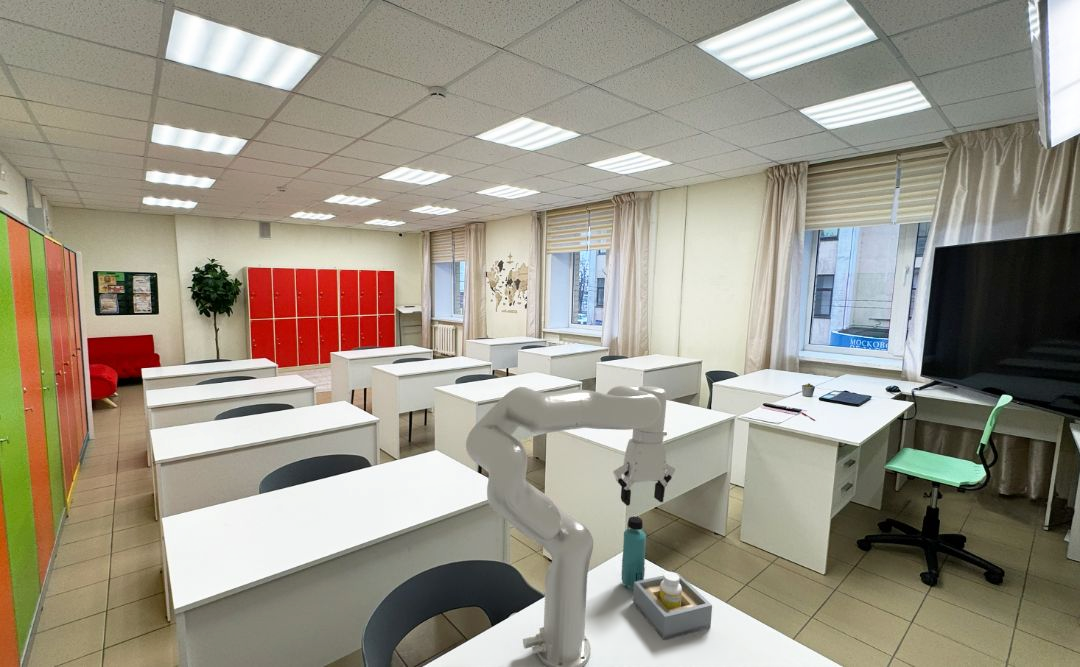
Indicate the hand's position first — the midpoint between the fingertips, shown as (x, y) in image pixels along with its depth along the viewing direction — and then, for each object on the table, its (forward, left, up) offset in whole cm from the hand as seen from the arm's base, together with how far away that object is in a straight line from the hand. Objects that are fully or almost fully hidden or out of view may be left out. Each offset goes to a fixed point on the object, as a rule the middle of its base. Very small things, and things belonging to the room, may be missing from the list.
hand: (642, 501), depth 117 cm
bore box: (+9, -3, -31) cm, 32 cm away
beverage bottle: (+5, +11, -31) cm, 33 cm away
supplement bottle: (+8, -3, -30) cm, 31 cm away
